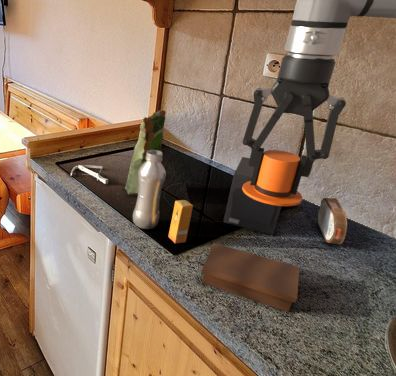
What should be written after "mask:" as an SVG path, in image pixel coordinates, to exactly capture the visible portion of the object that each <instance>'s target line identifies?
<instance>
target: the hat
mask: <svg viewBox="0 0 396 376" xmlns="http://www.w3.org/2000/svg"><path fill="white" fill-rule="evenodd" d="M300 160H301V156H299V155H297V154H295V153H292V152H290V151H285V150H278V149H267V150H264V152H263V156H262V160H261V164H260V168H259V171H258V175H257V179H256V182H255V186H253V185H250V183H251V181H248V182H246V183H244V184H243V187H242V190H243V192H244V193H245V194H246V195H247V196H249V197H251V198H253V199H255V200H257V201H260V202H263V203H266V204H270V205H276V206H282V207H293V206H298V205H299V204H301V203H302V201H303V196H302V194H301V192H299V191H298V190H297V192H296V195H294V194H291V191H292V187H293V184H294V180H295V177H296V174H297V170H298V167H299V164H300Z"/></svg>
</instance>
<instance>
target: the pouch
mask: <svg viewBox="0 0 396 376" xmlns="http://www.w3.org/2000/svg"><path fill="white" fill-rule="evenodd" d="M166 113H167V111H165V110H163V109H160V110H158V111H156V112H155V111H154V112H153V113H152V115H150V116H148V117H146V116H145V117H143V118H142V120H141V124H140V126H139V129H140V131H139V134H138V140H137V142H136V145H135V146H134V147H133V150H134V151H133V152H134V153H133V155H132V157H131V161H130V164H129V171H128V175H127V179H126V183H125V187H124V189H125V191H126V192H127V195H128V196H130V195H131V196H138V187H139V182H138V172H139V169H140V167H141V166H142V165H143V164H144V163H145V162H146V161H147V160H146V153H147V151H148V150H157V151H161V152H162V153H163V150H162V145H163V141H164V126H165V122H166Z"/></svg>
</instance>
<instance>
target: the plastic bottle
mask: <svg viewBox="0 0 396 376" xmlns="http://www.w3.org/2000/svg"><path fill="white" fill-rule="evenodd" d="M146 160H147V161H146V162H145V163H144V164H143V165H142V166H141V167H140V169H139V172H138V182H139V187H138V195H137V197H136V198H137V199H136V201H135V202H136V203H135V206H134V209H133V212H132V222H133V224H134V225H135V226H136V227H137V228H140V229H144V230H152V229H154V228H155V227H157V226H158V224H159V221H160V201H161V200H160V199H161V195H162V190H163V186H164V183H165V181H166V177H167V172H166V169H165V167H164V165H163V164H162V162H163V151H162V152H161V151H157V150H148V151H147V153H146Z"/></svg>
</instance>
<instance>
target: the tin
mask: <svg viewBox="0 0 396 376" xmlns="http://www.w3.org/2000/svg"><path fill="white" fill-rule="evenodd" d="M317 224H318V227H319V229H320V232H321V234H322V236H323V238H324V240H325V242H326V243H328V244H332V245H333V244H334V245H338V246H341V245H343V243H344V241H345V239H346V236H347V231H348V216H347V214H346V212H345V210H344V208H343V207H342V205H341V203H340V202H339V200H338V198H336V197H334V198H333V197H323V198H322V199H321V200H320V205H319V209H318V212H317Z"/></svg>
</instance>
